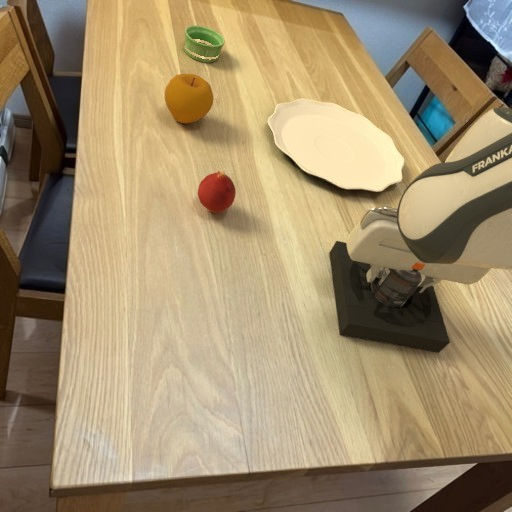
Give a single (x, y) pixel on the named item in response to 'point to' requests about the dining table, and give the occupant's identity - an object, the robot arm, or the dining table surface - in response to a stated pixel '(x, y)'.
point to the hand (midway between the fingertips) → (393, 284)
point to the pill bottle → (397, 285)
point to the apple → (188, 97)
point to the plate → (336, 145)
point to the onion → (216, 192)
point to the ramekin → (203, 48)
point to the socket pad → (383, 309)
